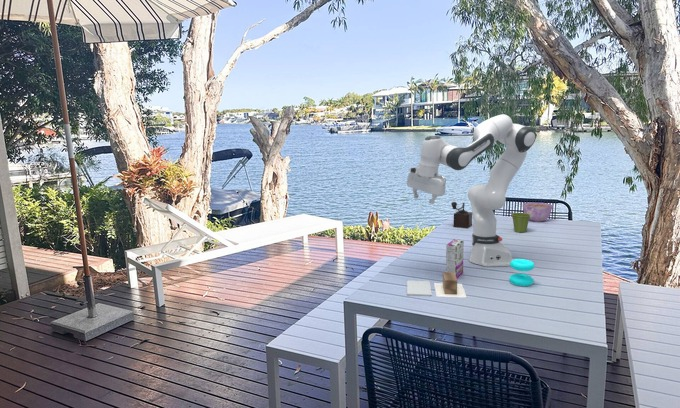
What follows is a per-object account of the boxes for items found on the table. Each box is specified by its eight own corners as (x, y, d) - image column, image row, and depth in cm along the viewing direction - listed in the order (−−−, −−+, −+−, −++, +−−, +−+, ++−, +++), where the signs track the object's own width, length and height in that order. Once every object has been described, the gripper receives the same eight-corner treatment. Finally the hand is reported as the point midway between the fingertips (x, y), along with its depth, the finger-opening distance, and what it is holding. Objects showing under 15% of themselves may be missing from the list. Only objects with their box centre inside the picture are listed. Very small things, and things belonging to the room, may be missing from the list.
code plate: (461, 284, 195) (461, 283, 195) (466, 298, 180) (466, 297, 180) (434, 283, 197) (434, 282, 197) (436, 297, 181) (436, 296, 181)
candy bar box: (453, 271, 212) (453, 238, 209) (463, 273, 210) (464, 239, 207) (445, 278, 203) (446, 244, 200) (456, 280, 200) (456, 245, 197)
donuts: (538, 264, 189) (514, 265, 189) (537, 287, 190) (513, 287, 191) (529, 257, 198) (506, 258, 199) (528, 279, 200) (505, 279, 200)
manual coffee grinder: (456, 223, 313) (457, 198, 310) (472, 225, 307) (473, 199, 304) (449, 228, 300) (450, 202, 297) (465, 230, 294) (466, 203, 291)
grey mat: (429, 283, 197) (429, 281, 197) (431, 296, 182) (431, 294, 182) (406, 282, 199) (406, 280, 199) (406, 296, 183) (407, 293, 183)
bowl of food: (525, 223, 310) (526, 207, 308) (518, 217, 329) (519, 202, 327) (555, 223, 306) (556, 207, 304) (547, 217, 326) (548, 202, 324)
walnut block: (454, 285, 193) (454, 272, 192) (456, 294, 183) (457, 280, 182) (442, 285, 194) (442, 272, 193) (444, 294, 184) (444, 280, 183)
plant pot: (531, 230, 289) (532, 213, 287) (528, 234, 279) (529, 217, 277) (512, 228, 295) (513, 212, 293) (508, 232, 286) (509, 215, 284)
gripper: (450, 176, 196) (445, 206, 200) (415, 166, 211) (411, 194, 215) (441, 177, 192) (437, 207, 196) (406, 167, 207) (402, 195, 211)
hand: (423, 200), depth 205 cm, fingers open, 8 cm apart
